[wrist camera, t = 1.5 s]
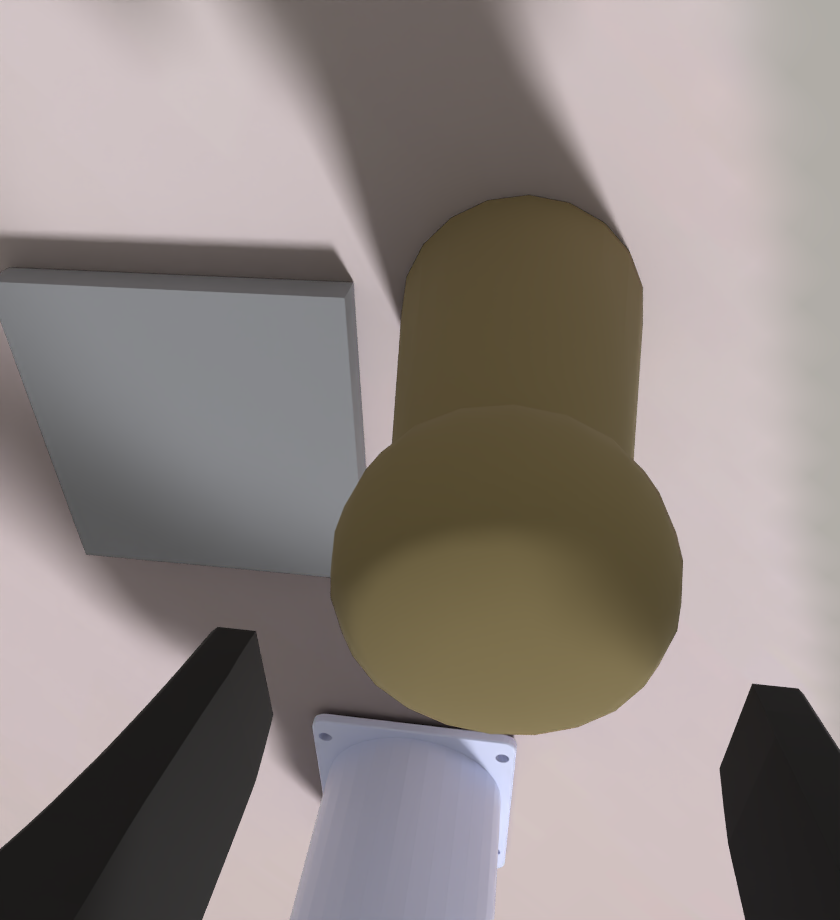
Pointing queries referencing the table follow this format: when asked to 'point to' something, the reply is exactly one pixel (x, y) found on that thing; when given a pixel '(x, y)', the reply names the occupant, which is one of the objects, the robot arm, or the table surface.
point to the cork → (512, 485)
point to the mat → (194, 411)
